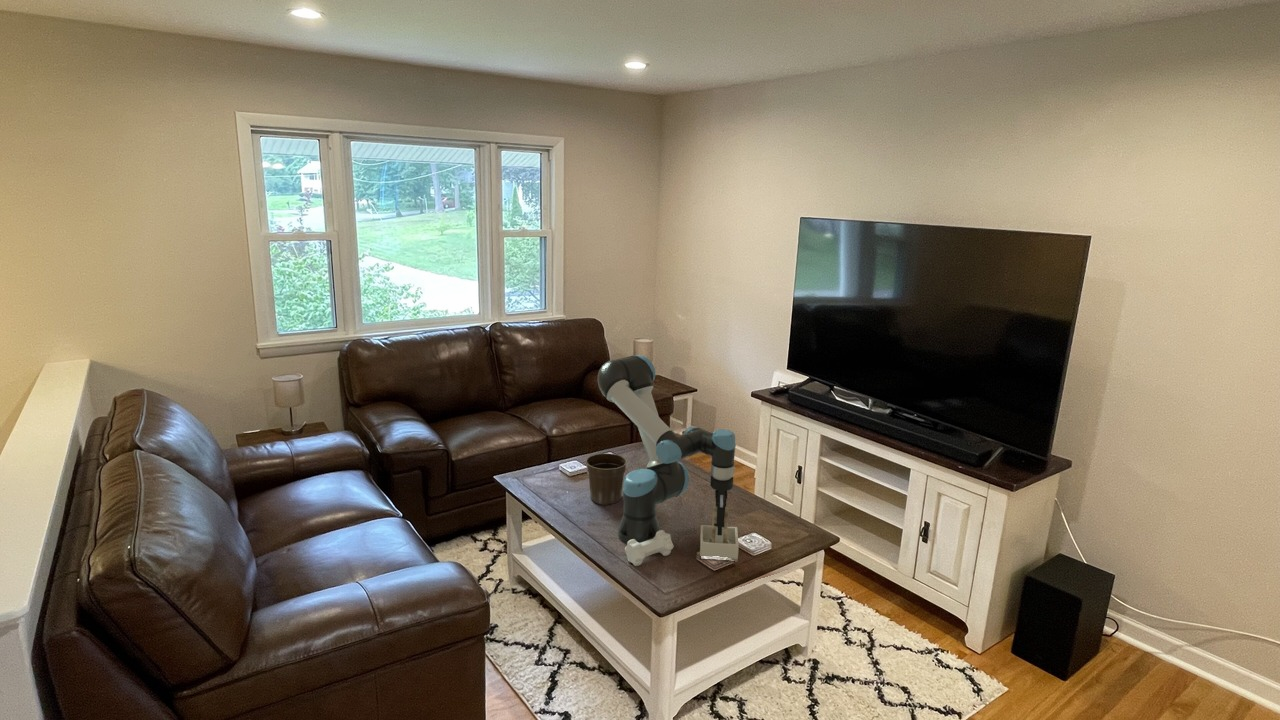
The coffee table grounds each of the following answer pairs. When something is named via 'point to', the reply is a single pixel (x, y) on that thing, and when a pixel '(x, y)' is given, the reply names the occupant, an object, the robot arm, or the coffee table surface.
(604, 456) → the plant pot
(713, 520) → the wooden wick block
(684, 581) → the coffee table surface
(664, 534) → the dog bone
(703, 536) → the open rectangular box
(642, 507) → the robot arm
